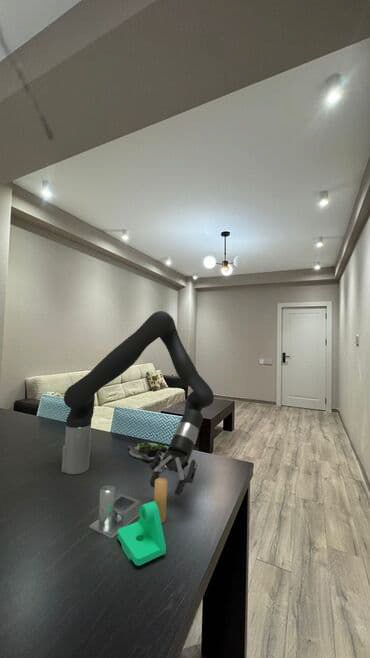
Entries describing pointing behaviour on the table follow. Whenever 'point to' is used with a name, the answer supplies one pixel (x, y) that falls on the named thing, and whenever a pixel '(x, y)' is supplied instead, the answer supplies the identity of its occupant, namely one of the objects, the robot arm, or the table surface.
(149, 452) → the salad plate
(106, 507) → the clear post on plate
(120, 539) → the camera mount
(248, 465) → the table surface
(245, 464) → the table surface
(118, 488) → the table surface
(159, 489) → the tan rounded cylinder
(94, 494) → the table surface
